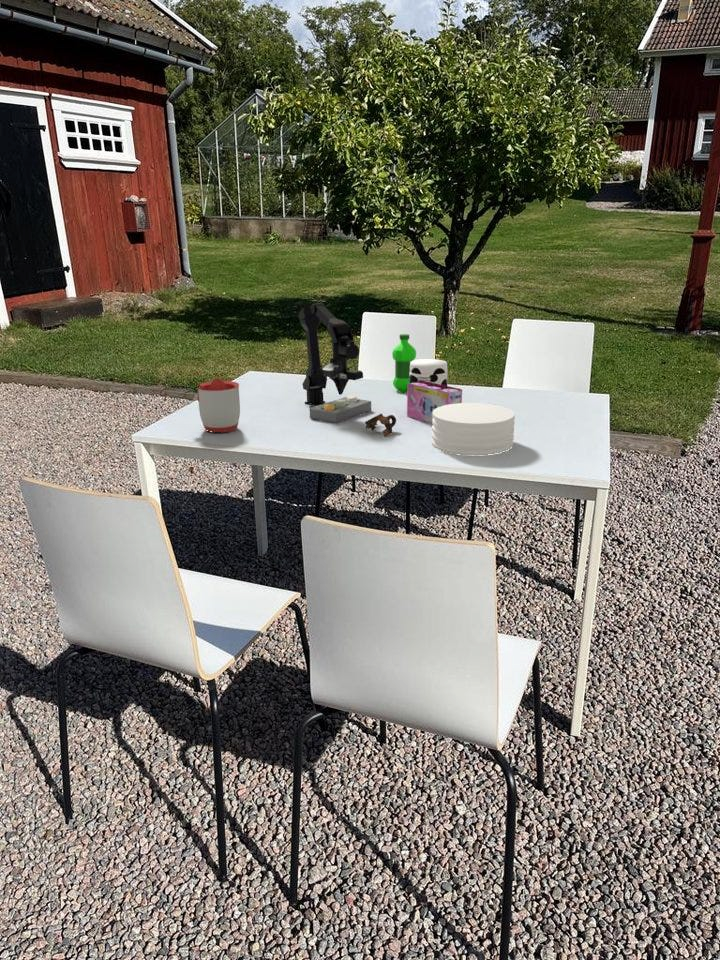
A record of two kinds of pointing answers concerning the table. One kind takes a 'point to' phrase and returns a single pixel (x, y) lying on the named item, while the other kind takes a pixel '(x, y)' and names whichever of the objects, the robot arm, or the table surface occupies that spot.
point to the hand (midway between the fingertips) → (340, 394)
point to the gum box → (429, 399)
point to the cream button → (352, 399)
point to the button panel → (340, 411)
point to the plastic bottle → (403, 363)
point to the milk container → (428, 371)
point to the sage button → (341, 403)
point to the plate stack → (472, 428)
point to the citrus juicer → (219, 405)
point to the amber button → (329, 407)
